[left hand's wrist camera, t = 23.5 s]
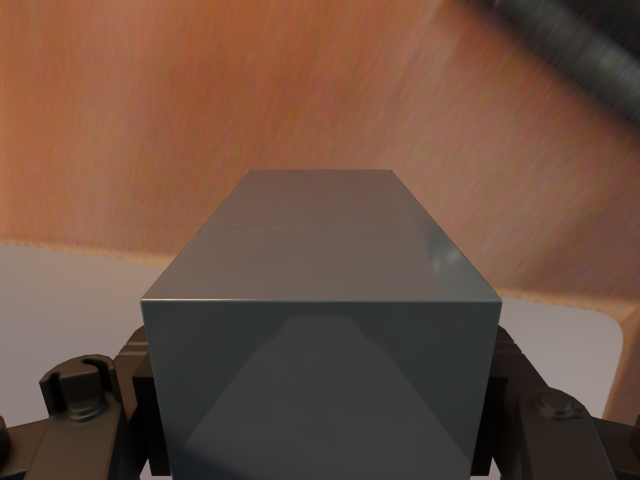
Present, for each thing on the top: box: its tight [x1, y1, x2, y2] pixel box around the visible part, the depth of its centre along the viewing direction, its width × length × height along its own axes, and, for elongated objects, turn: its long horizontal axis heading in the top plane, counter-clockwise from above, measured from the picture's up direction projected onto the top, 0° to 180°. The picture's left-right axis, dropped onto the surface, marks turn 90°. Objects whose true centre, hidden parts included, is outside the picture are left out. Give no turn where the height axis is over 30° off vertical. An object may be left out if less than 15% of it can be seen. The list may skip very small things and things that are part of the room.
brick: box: [140, 170, 502, 480], centre depth 13 cm, size 6×7×11 cm
